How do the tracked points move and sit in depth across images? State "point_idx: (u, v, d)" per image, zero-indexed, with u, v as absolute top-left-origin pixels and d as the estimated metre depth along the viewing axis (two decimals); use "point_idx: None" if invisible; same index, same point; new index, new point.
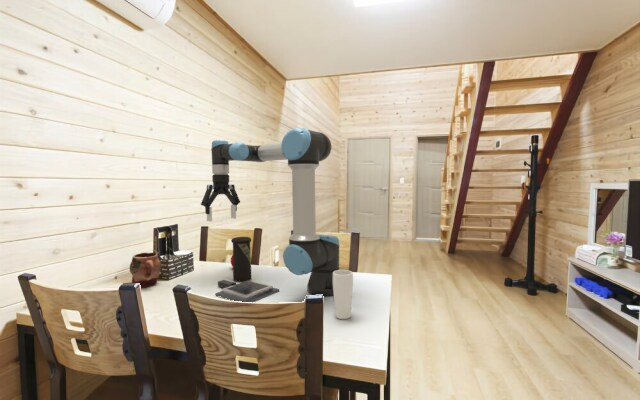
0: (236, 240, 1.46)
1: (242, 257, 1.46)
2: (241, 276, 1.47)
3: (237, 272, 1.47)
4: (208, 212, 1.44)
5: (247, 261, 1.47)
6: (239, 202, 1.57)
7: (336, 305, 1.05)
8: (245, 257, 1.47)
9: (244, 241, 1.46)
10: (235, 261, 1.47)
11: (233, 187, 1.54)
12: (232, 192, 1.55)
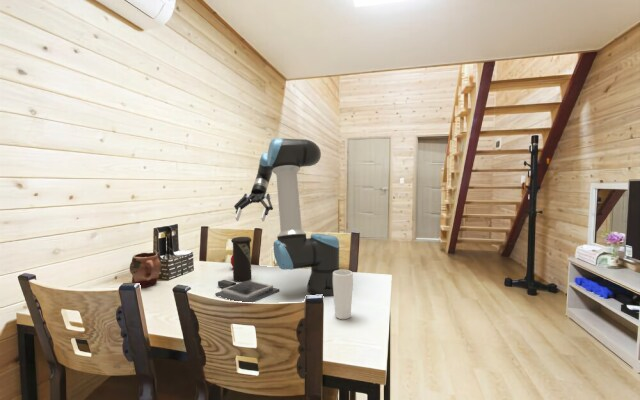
0: (236, 240, 1.46)
1: (242, 257, 1.46)
2: (241, 276, 1.47)
3: (237, 272, 1.47)
4: (236, 212, 1.63)
5: (247, 261, 1.47)
6: (270, 206, 1.62)
7: (336, 305, 1.05)
8: (245, 257, 1.47)
9: (244, 241, 1.46)
10: (235, 261, 1.47)
11: (267, 195, 1.68)
12: None
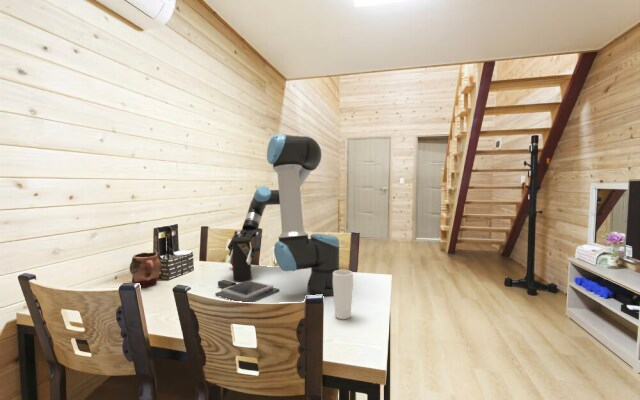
0: (236, 240, 1.46)
1: (242, 257, 1.46)
2: (241, 276, 1.47)
3: (237, 272, 1.47)
4: (230, 254, 1.50)
5: None
6: (256, 247, 1.50)
7: (336, 305, 1.05)
8: (245, 257, 1.47)
9: (244, 241, 1.46)
10: (235, 261, 1.47)
11: (258, 233, 1.55)
12: None
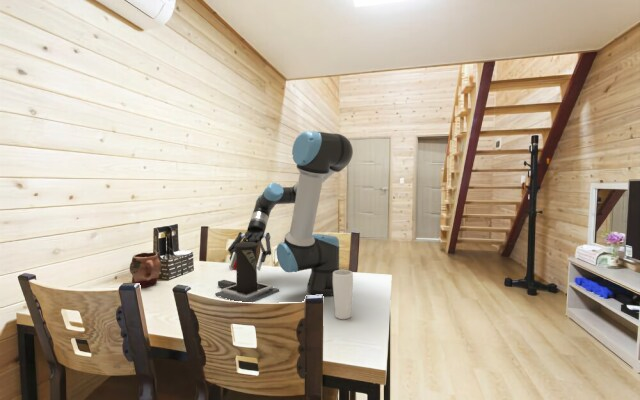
0: (240, 246, 1.26)
1: (247, 265, 1.27)
2: (246, 287, 1.27)
3: (241, 283, 1.27)
4: (231, 257, 1.31)
5: (252, 270, 1.28)
6: (268, 250, 1.30)
7: (336, 305, 1.05)
8: (251, 266, 1.27)
9: (249, 247, 1.27)
10: (239, 270, 1.28)
11: (267, 235, 1.36)
12: (266, 241, 1.35)
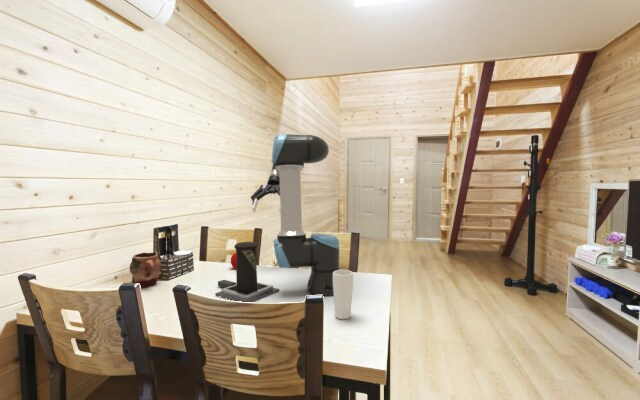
0: (240, 246, 1.26)
1: (247, 265, 1.27)
2: (246, 287, 1.27)
3: (241, 283, 1.27)
4: (253, 203, 1.61)
5: (252, 270, 1.28)
6: None
7: (336, 305, 1.05)
8: (250, 266, 1.27)
9: (249, 247, 1.27)
10: (239, 270, 1.28)
11: None
12: None
